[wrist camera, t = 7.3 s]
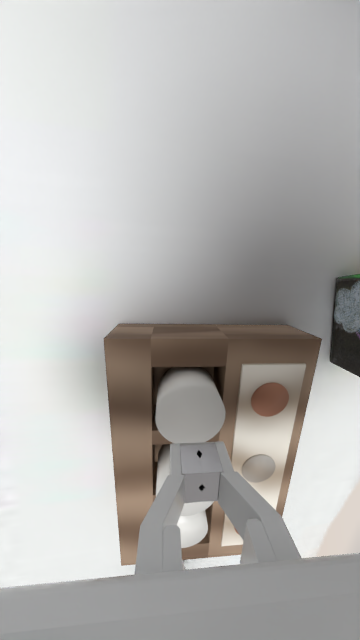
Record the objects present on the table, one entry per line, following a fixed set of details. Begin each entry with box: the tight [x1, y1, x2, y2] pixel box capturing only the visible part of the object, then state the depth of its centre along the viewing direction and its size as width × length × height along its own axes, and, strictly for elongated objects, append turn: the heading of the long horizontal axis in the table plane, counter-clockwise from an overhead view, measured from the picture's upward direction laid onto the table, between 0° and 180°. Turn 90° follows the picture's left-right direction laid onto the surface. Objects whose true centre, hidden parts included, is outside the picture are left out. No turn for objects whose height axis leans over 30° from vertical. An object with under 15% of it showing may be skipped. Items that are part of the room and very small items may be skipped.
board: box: [104, 324, 322, 566], centre depth 17 cm, size 24×16×4 cm, turn 178°
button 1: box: [177, 510, 208, 548], centre depth 18 cm, size 5×5×3 cm
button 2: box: [155, 367, 225, 443], centre depth 14 cm, size 5×5×3 cm
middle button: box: [156, 444, 214, 516], centre depth 15 cm, size 5×5×3 cm
